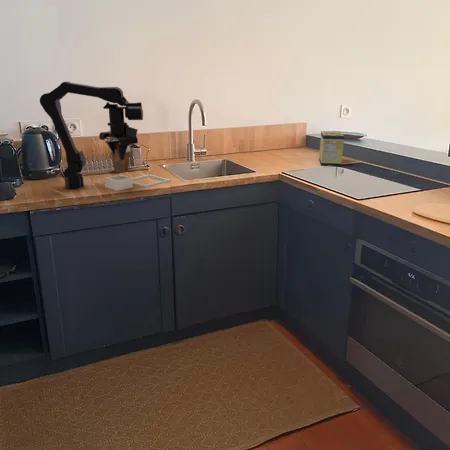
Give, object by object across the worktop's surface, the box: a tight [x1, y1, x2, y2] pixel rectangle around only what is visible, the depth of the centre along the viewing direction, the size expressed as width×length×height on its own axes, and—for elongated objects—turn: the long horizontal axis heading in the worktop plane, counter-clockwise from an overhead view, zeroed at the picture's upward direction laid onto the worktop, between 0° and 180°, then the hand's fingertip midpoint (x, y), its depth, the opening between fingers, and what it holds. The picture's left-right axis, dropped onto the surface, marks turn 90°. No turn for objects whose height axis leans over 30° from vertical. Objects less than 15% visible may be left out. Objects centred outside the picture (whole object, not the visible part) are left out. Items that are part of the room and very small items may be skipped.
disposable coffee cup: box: [109, 145, 131, 174], centre depth 223 cm, size 10×10×12 cm
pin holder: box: [104, 173, 134, 192], centre depth 195 cm, size 8×8×5 cm
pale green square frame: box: [132, 173, 171, 189], centre depth 205 cm, size 14×14×2 cm
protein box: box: [318, 130, 345, 167], centre depth 246 cm, size 10×16×16 cm
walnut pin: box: [115, 149, 125, 173], centre depth 193 cm, size 4×4×9 cm
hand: (119, 159), depth 193 cm, fingers closed on walnut pin, 3 cm apart
